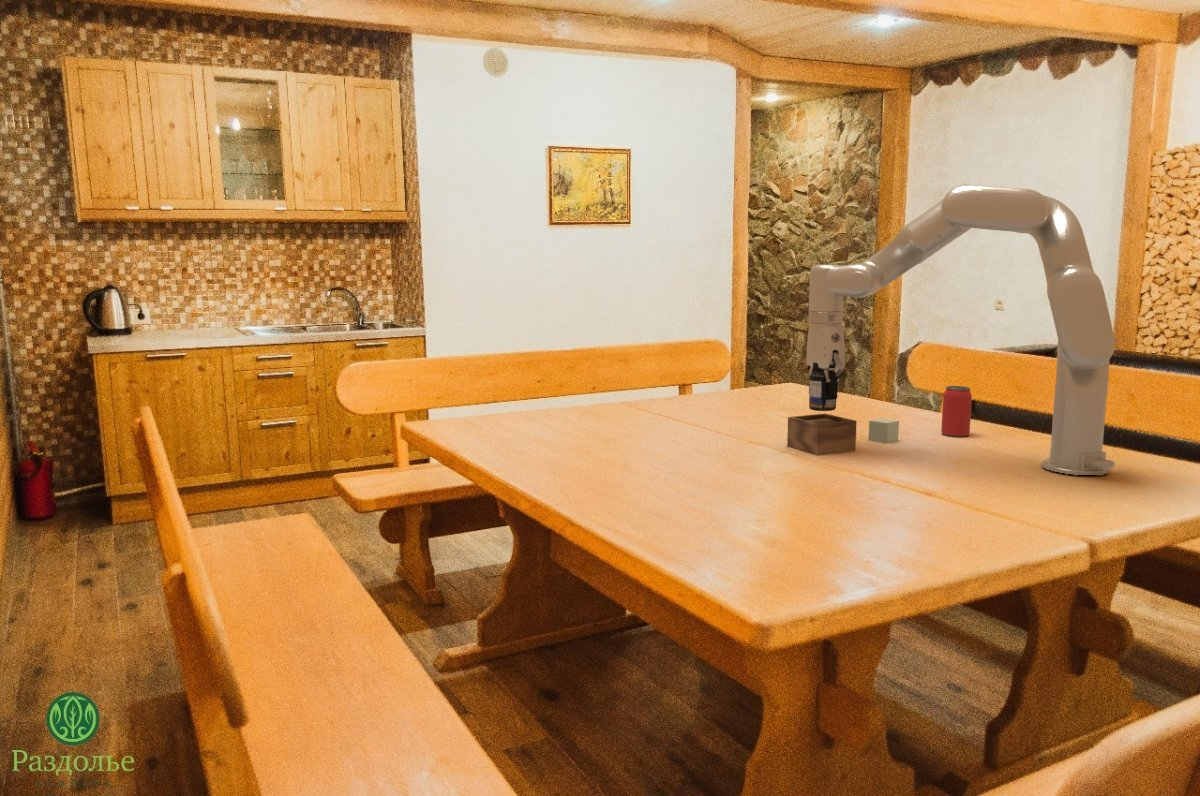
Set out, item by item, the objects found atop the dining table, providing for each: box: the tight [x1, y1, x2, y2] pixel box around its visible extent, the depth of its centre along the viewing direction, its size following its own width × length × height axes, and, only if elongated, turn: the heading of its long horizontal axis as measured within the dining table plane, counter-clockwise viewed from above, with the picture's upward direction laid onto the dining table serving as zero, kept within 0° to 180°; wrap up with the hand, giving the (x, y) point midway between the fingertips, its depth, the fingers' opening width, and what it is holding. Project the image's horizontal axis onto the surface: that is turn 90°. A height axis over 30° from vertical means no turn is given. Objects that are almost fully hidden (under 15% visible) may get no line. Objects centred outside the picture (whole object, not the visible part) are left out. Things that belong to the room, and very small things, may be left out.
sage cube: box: [867, 417, 900, 444], centre depth 217 cm, size 5×5×5 cm
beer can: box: [940, 385, 973, 438], centre depth 223 cm, size 7×7×12 cm
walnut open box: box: [786, 413, 858, 456], centre depth 208 cm, size 11×11×7 cm
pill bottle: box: [808, 362, 837, 412], centre depth 206 cm, size 6×6×11 cm
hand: (822, 396), depth 207 cm, fingers closed on pill bottle, 6 cm apart
